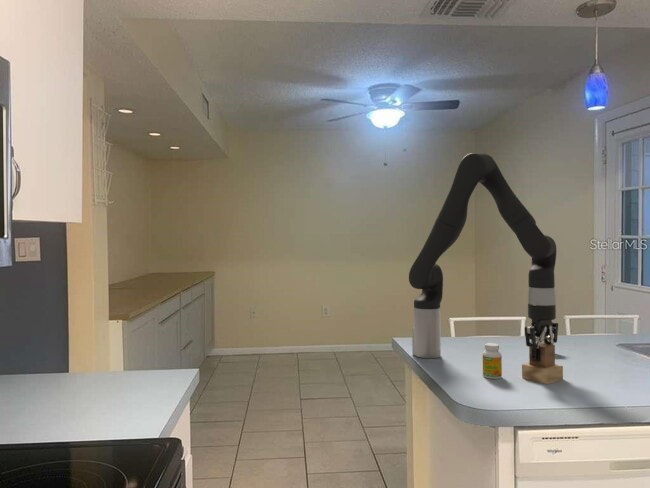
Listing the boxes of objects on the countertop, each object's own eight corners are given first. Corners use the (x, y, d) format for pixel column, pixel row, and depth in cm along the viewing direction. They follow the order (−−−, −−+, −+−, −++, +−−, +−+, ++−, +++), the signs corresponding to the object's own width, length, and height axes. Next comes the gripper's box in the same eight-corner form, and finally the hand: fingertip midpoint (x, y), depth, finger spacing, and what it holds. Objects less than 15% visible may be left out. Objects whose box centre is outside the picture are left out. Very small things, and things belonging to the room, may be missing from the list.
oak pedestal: (522, 377, 140) (521, 364, 140) (537, 373, 144) (537, 360, 144) (547, 384, 133) (547, 370, 133) (562, 379, 138) (562, 365, 138)
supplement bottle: (482, 378, 140) (481, 345, 140) (483, 373, 145) (483, 342, 145) (501, 380, 138) (501, 347, 138) (502, 375, 143) (501, 343, 143)
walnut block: (529, 364, 140) (529, 344, 140) (539, 362, 142) (538, 342, 142) (545, 368, 135) (545, 347, 135) (554, 365, 138) (554, 345, 138)
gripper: (543, 299, 146) (543, 353, 146) (515, 303, 138) (516, 360, 138) (567, 301, 140) (567, 358, 140) (539, 306, 132) (540, 366, 132)
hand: (542, 359), depth 139 cm, fingers open, 6 cm apart
